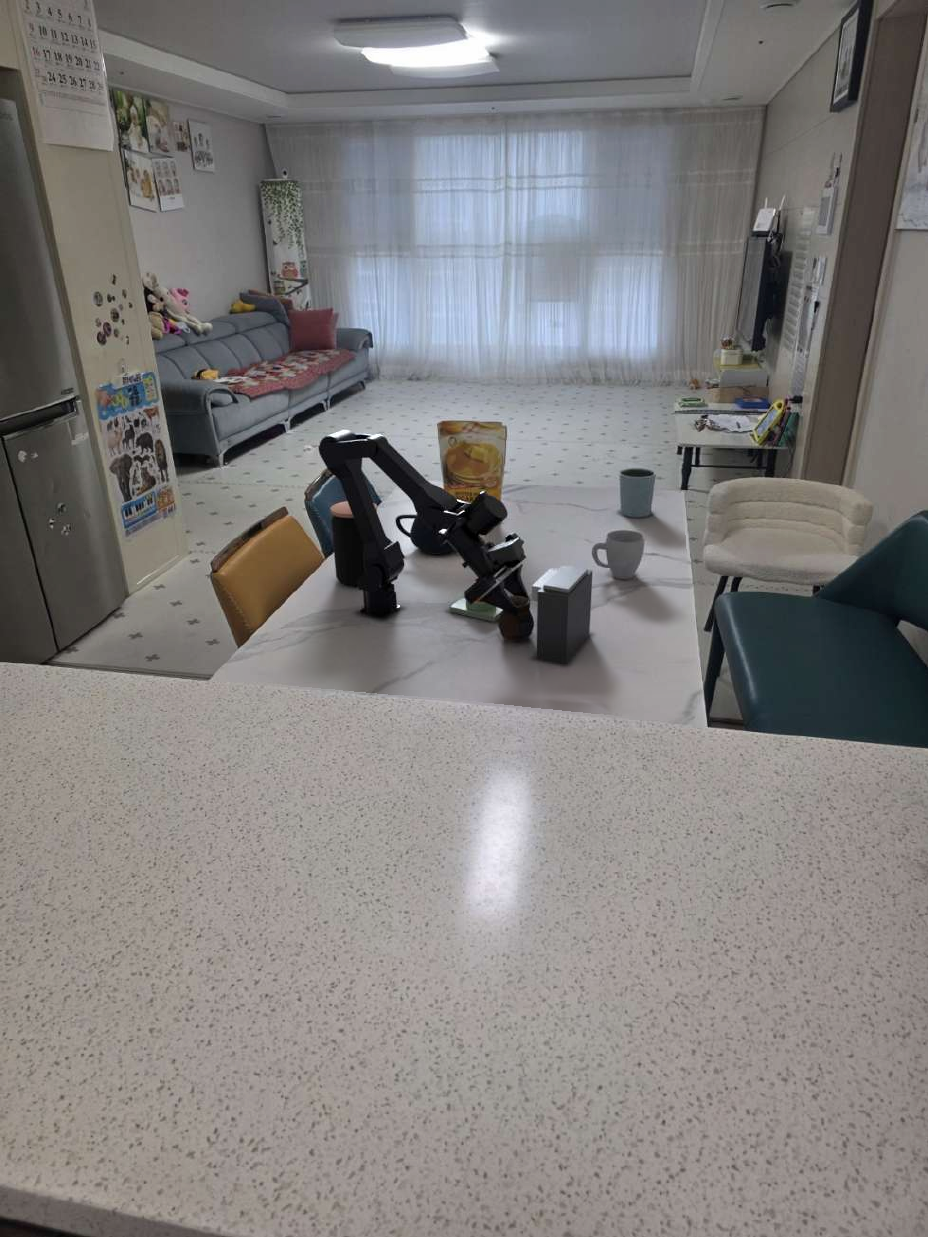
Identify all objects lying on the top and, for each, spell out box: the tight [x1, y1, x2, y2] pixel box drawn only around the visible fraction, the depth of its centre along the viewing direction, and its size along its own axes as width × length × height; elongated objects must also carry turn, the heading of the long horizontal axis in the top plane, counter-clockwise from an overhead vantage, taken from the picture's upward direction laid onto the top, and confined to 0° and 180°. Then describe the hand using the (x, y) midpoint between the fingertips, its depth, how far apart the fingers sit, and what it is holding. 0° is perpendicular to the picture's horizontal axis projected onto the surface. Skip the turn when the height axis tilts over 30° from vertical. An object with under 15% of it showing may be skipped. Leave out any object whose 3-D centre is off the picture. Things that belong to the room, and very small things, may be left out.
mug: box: [591, 529, 646, 580], centre depth 193 cm, size 12×9×10 cm
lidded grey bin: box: [531, 565, 593, 665], centre depth 160 cm, size 8×14×15 cm, turn 154°
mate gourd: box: [497, 595, 535, 643], centre depth 164 cm, size 7×8×10 cm
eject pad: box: [449, 596, 503, 623], centre depth 178 cm, size 11×8×3 cm
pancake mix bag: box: [436, 420, 508, 503], centre depth 229 cm, size 7×19×28 cm, turn 77°
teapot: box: [394, 513, 464, 555], centre depth 212 cm, size 25×16×12 cm, turn 81°
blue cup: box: [618, 467, 657, 519], centre depth 235 cm, size 10×10×12 cm
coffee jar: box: [330, 500, 378, 588], centre depth 192 cm, size 11×11×18 cm
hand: (523, 608), depth 163 cm, fingers closed on mate gourd, 5 cm apart
